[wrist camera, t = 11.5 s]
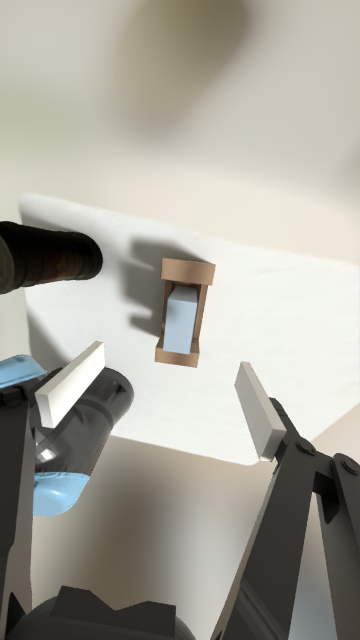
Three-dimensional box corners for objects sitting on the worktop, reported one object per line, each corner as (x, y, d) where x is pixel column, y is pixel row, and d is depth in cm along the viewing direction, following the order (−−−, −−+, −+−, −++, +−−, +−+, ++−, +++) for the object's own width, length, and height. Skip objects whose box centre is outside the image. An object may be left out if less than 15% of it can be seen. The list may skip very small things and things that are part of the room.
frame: (163, 339, 39) (154, 361, 31) (170, 258, 33) (162, 258, 25) (196, 344, 39) (196, 367, 31) (210, 263, 33) (215, 264, 24)
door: (172, 322, 37) (163, 350, 25) (176, 285, 34) (167, 299, 23) (190, 324, 36) (189, 354, 25) (196, 288, 34) (197, 303, 22)
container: (61, 274, 36) (-55, 289, 19) (59, 228, 33) (-83, 197, 16) (102, 283, 36) (22, 306, 19) (104, 238, 33) (9, 216, 16)
